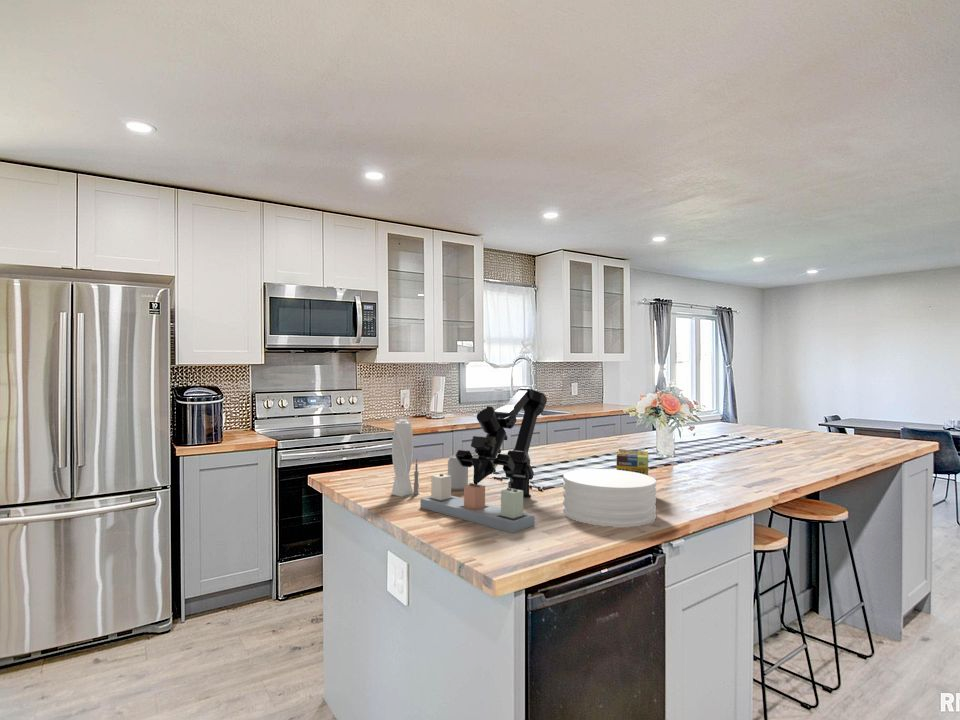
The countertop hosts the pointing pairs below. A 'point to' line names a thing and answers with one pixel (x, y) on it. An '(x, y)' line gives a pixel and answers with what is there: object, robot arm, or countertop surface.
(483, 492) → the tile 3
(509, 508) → the green block
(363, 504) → the countertop surface
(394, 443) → the skyscraper
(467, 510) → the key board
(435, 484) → the cream block
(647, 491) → the plate stack
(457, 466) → the can
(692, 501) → the countertop surface
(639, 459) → the protein box
